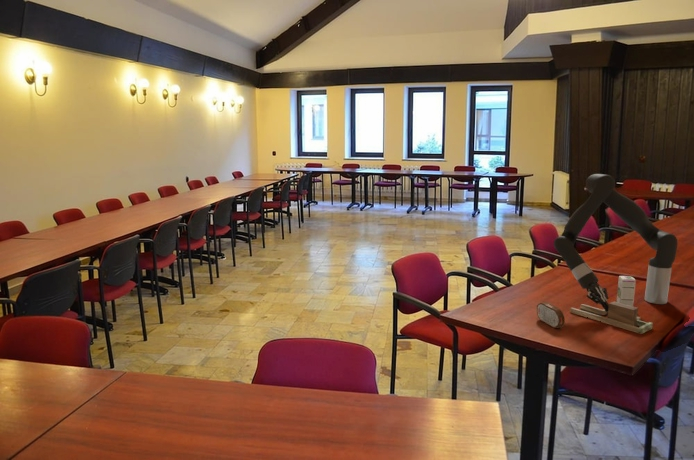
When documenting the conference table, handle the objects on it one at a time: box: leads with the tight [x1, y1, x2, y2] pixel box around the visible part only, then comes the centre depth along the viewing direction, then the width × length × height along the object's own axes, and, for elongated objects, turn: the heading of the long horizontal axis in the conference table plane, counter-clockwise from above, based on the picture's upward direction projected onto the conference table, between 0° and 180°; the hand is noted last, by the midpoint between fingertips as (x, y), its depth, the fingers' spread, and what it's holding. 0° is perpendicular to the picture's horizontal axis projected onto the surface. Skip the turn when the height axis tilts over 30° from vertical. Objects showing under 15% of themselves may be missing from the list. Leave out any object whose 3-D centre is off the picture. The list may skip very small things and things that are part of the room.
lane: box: [569, 303, 654, 335], centre depth 225 cm, size 14×30×2 cm, turn 37°
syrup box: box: [615, 275, 637, 307], centre depth 237 cm, size 6×6×14 cm
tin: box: [536, 301, 566, 329], centre depth 218 cm, size 15×3×8 cm, turn 17°
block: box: [606, 301, 639, 327], centre depth 219 cm, size 4×10×8 cm, turn 37°
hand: (609, 310), depth 223 cm, fingers closed
